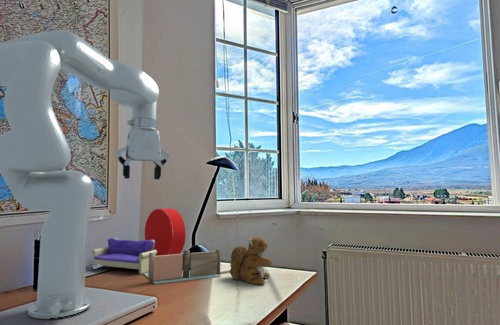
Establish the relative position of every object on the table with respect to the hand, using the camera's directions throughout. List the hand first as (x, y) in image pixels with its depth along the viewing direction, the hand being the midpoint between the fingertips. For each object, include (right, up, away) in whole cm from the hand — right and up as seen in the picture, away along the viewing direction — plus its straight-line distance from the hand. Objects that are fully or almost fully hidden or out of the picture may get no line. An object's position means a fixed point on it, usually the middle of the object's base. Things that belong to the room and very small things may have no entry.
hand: (142, 178), depth 112 cm
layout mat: (+12, -31, +2) cm, 34 cm away
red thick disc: (0, -33, +27) cm, 43 cm away
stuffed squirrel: (+34, -32, -2) cm, 46 cm away
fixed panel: (+19, -31, +1) cm, 37 cm away
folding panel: (+9, -30, -5) cm, 32 cm away
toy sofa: (-9, -32, +9) cm, 34 cm away
